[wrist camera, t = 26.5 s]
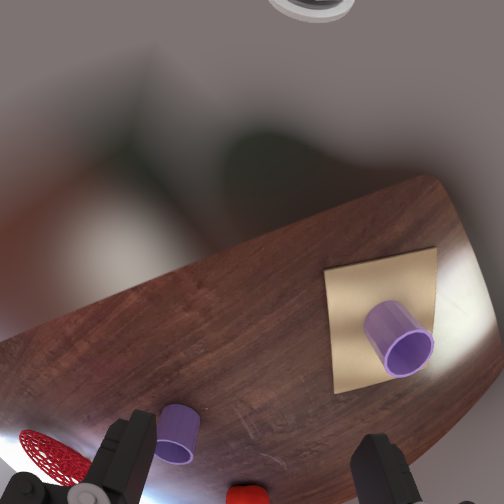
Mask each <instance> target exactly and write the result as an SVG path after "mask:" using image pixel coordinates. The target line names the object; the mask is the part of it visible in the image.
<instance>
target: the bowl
mask: <svg viewBox="0 0 504 504" xmlns="http://www.w3.org/2000/svg"><path fill="white" fill-rule="evenodd" d="M27 432H28V433H27ZM21 434H23V435H24V436H22V435H21ZM27 434H28V435H31V436H32V437H30V436H28V435H27ZM21 437H22V438H24V440H23V439H21ZM34 439H36V440H34ZM19 440H20V443H21V445H22V447H23V449H24V450H25V452H26V453H27V455H28V456H29V457H30V458H31V459H32V460H33V462H34V463H35V464H36V465H37V466H38V467H39V468H40V469H41V470H43V471H44V472H45V473H46V474H47V475H49V476H50V477H51V478H53V479H54V480H55V481H57V482H58V483H60V484H62V485H63V486H67V485H68V486H73V485H76V483H74V482H73V481H72V478H74V479H75V480H77V481H78V482H79V483H80V482H81V481H82V480H83V478H85V476H86V474H87V472H88V470H89V468H90V466H91V464H92V462H90V461H89V460H88V459H86V458H85V457H83V456H82V455H80V454H79V453H77V452H76V451H74V450H73V449H71V448H70V447H68V446H66V445H64V444H62V443H61V442H59V441H57V440H54V439H52V438H51V437H49V436H46V435H44V434H42V433H39V432H36V431H33V430H23V431H22V432H21V433H20V435H19ZM26 440H28V441H26ZM37 440H38V441H37ZM45 440H46V441H45ZM22 441H23V442H25V444H23V442H22ZM32 441H33V442H35V443H37V444H34V443H33V442H32ZM41 442H42V443H45V444H42V443H41ZM27 443H28V444H27ZM31 444H32V445H31ZM25 446H26V447H27V449H28V450H26V448H25ZM34 446H35V447H38V449H39V450H37V449H36V448H35V447H34ZM29 447H30V448H31V450H30V448H29ZM39 451H41V452H43V453H45V455H46V457H47V458H44V457H43V456H42V455H41V454H40V453H39ZM29 452H30V453H31V454H32V456H31V455H30V454H29ZM33 452H34V453H35V454H34V453H33ZM49 454H50V455H52V457H50V456H49ZM35 455H37V456H39V457H41V458H42V459H43V460H41V459H39V458H37V457H36V456H35ZM32 457H34V458H36V459H37V460H38V463H37V462H36V461H35V460H34V459H33V458H32ZM48 459H49V460H50V461H51V462H52V463H49V462H48V461H47V460H48ZM57 459H58V460H59V461H58V460H57ZM40 461H41V462H42V463H43V464H41V463H40ZM44 461H45V462H46V463H45V462H44ZM55 464H57V465H58V466H59V467H57V466H56V465H55ZM40 465H41V466H40ZM44 465H48V466H49V467H50V469H48V468H47V467H46V466H44ZM52 466H53V467H55V468H56V469H55V468H53V467H52ZM42 467H44V468H45V469H47V470H48V472H47V471H46V470H44V469H43V468H42ZM51 469H52V470H54V471H55V472H53V471H52V470H51ZM57 471H59V472H61V473H62V474H63V475H61V474H59V473H58V472H57ZM54 474H55V475H54ZM64 475H65V476H66V477H68V478H69V480H70V481H68V480H67V479H66V478H65V476H64ZM53 476H54V477H53ZM76 476H77V477H76ZM56 477H59V478H60V479H61V480H62V481H59V480H57V479H56ZM61 477H63V478H61ZM71 477H72V478H71ZM80 480H81V481H80ZM65 481H66V482H68V483H69V484H68V483H66V482H65ZM65 484H66V485H65ZM70 484H71V485H70Z"/></svg>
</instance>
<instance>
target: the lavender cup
mask: <svg viewBox="0 0 504 504" xmlns="http://www.w3.org/2000/svg"><path fill="white" fill-rule="evenodd" d="M364 333H365V336H366V337H367V339H368V341H369V343H370V344H371V346H372V348H373V349H374V351H375V353H376V355H377V356H378V358H379V360H380V361H381V363H382V365H383V367H384V368H385V370H386V372H387V373H388V374H389V375H391V376H393V377H406V376H409V375H412V374H413V373H415V372H417V371H418V370H420V369H421V368H422V367H423V366H424V365H425V364H426V362H427V361H428V360H429V358H430V356H431V354H432V352H433V348H434V340H433V337H432V334H431V333H430V332H429V331H428V330H427V329H426V328H425V327H424V326H423V325H422V324H421V323H420V322H419V321H418V320H417V319H416V317H415V316H414V315H413V314H412V313H411V312H410V311H409V310H408V309H407V308H406V307H405V306H403V305H402V304H401V303H400V302H397V301H385V302H382V303H380V304H378V305H377V306H375V307H374V308H373V309H372V310H371V311H370V313H369V314H368V316H367V317H366V320H365V323H364Z"/></svg>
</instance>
